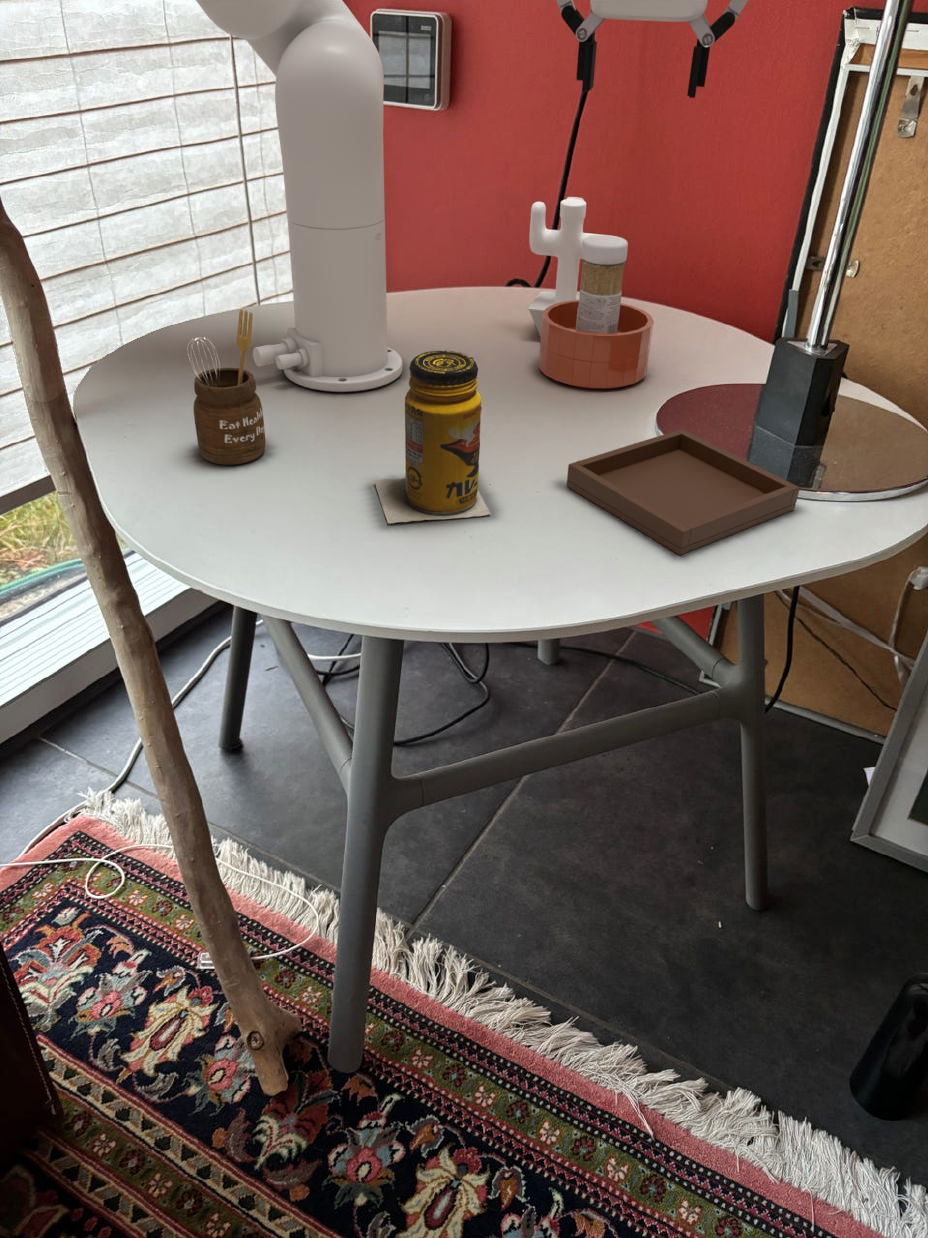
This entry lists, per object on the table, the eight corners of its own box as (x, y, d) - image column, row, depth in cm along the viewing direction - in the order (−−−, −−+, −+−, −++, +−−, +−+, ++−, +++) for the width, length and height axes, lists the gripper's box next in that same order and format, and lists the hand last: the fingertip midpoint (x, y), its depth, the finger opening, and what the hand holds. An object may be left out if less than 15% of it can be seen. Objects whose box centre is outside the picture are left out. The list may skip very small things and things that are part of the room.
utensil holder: (185, 453, 87) (164, 321, 80) (238, 431, 92) (223, 303, 85) (230, 473, 85) (212, 337, 78) (282, 449, 89) (271, 317, 82)
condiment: (490, 516, 80) (497, 374, 73) (387, 525, 78) (384, 381, 71) (470, 475, 85) (474, 341, 78) (374, 483, 84) (370, 346, 77)
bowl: (586, 400, 100) (592, 342, 96) (517, 364, 107) (520, 310, 104) (667, 377, 105) (676, 322, 102) (596, 345, 113) (602, 293, 110)
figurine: (596, 348, 112) (611, 210, 104) (517, 338, 114) (525, 202, 106) (606, 328, 118) (621, 196, 109) (530, 319, 120) (538, 189, 111)
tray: (679, 555, 75) (683, 532, 74) (566, 486, 84) (568, 463, 83) (794, 509, 82) (800, 487, 81) (678, 449, 91) (681, 428, 90)
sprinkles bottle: (592, 357, 109) (605, 230, 101) (622, 369, 106) (638, 240, 98) (562, 365, 106) (573, 237, 99) (592, 378, 104) (606, 247, 96)
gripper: (554, -145, 79) (540, 93, 89) (774, -142, 76) (734, 103, 86) (567, -140, 85) (552, 83, 95) (770, -137, 82) (734, 92, 92)
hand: (638, 92), depth 91 cm, fingers open, 9 cm apart
